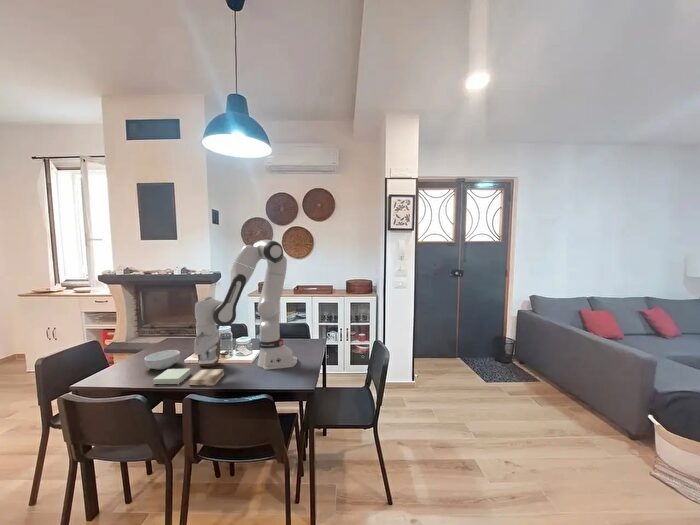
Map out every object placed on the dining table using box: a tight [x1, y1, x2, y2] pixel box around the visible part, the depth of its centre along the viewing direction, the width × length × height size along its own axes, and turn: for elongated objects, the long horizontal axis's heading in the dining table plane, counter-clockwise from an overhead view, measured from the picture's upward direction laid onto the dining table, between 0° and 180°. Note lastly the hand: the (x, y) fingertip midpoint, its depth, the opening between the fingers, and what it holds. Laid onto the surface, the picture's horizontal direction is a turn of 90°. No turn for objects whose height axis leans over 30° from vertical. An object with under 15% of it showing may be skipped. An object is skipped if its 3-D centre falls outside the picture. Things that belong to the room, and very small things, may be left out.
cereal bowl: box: [143, 349, 181, 370], centre depth 162 cm, size 17×17×7 cm
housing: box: [198, 345, 218, 365], centre depth 145 cm, size 7×6×7 cm
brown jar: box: [197, 340, 221, 368], centre depth 164 cm, size 11×8×20 cm
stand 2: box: [188, 368, 225, 386], centre depth 145 cm, size 12×12×3 cm
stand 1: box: [152, 368, 192, 385], centre depth 146 cm, size 12×12×3 cm
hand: (208, 356), depth 145 cm, fingers closed on housing, 5 cm apart
